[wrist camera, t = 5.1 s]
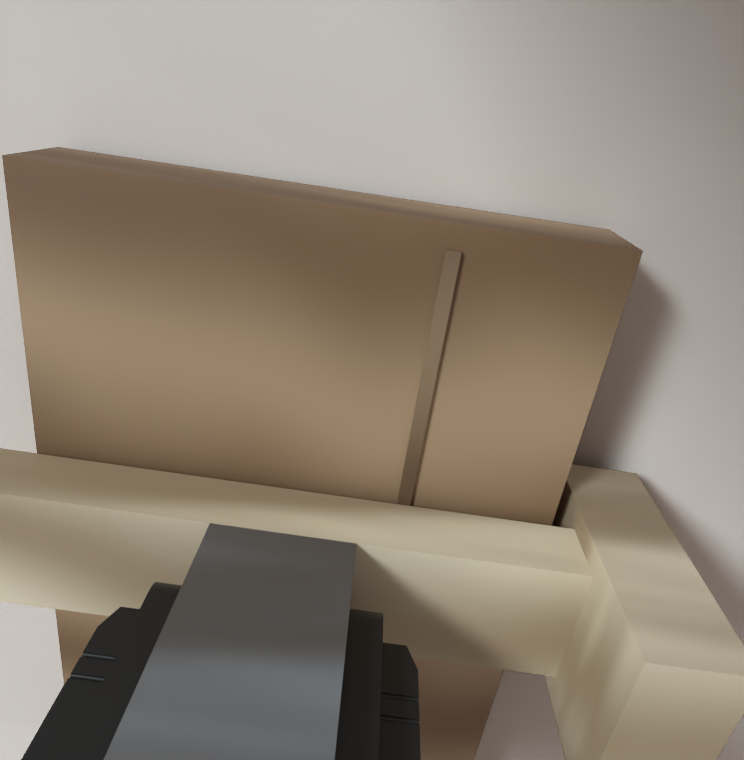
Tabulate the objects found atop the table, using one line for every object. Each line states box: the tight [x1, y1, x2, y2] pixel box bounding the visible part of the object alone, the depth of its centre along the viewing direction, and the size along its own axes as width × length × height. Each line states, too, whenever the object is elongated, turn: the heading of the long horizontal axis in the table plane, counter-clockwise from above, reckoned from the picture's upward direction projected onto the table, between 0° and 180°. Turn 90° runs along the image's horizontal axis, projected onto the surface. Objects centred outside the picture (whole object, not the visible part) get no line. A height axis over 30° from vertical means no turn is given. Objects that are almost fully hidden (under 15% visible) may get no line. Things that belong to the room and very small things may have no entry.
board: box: [2, 147, 643, 760], centre depth 18 cm, size 26×12×2 cm, turn 172°
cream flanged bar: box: [0, 448, 744, 760], centre depth 12 cm, size 4×15×10 cm, turn 82°
